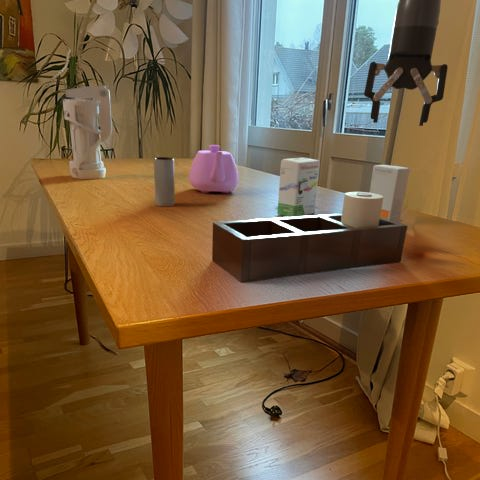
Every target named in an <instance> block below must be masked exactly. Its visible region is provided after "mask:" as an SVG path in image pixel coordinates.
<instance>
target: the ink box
mask: <svg viewBox="0 0 480 480" xmlns="http://www.w3.org/2000/svg"><path fill="white" fill-rule="evenodd" d="M320 166H321V160H319V159H314V158H309V157H292V158H283V159H282V160H280V172H279V185H278V200H277V210H276V211H277V212H276V213H277V215H278V216H283V217H297V216H309V215H313V214H315V212H316V204H317V203H316V202H317V194H318V184H319V177H320Z"/></svg>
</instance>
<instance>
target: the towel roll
mask: <svg viewBox="0 0 480 480" xmlns="http://www.w3.org/2000/svg"><path fill="white" fill-rule="evenodd" d="M382 202H383V196H382V195H379V194H375V193H370V192H367V191H348V192H345V193H344V196H343V202H342V211H341V214H342V217H341V223H344V224H347V225H349V226H352V227H355V228H361V227H372V226H379V221H380V215H381V208H382Z"/></svg>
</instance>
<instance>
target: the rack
mask: <svg viewBox="0 0 480 480" xmlns="http://www.w3.org/2000/svg"><path fill="white" fill-rule="evenodd" d="M341 217H342V213H329V214H314V215H313V214H311V215H304V216H297V217H288V216H283V217H282V216H281V217H271V218H269V217H268V218H254V219H253V218H252V219H241V220H239V219H238V220H227V221H226V220H225V221H213V222H212V247H211V248H212V249H211V250H212V252H211V261H212V262H214V264H216V265H218V267H220V268H222V270H224V271H225V272H226V273H228V274H229V275H230V276H232V277H234V279H236V280H237V281H239V282H240V283H247V282H255V281H263V280H271V279H278V278H286V277H287V278H288V277H294V276H301V275H309V274H318V273H326V272H335V271H341V270H349V269H358V268H365V267H373V266H380V265H381V266H382V265H389V264H396V263H401V261H402V257H403V252H404V251H403V250H404V247H405V241H406V236H407V230H408V225H406V224H404V223H401V222H400V223H398V222H394V221H391V220H388V219H385V218H382V217H380V221H379V226H372V227H361V228H355V227H352V226H349V225H347V224H344V223H341Z"/></svg>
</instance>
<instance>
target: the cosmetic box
mask: <svg viewBox="0 0 480 480" xmlns="http://www.w3.org/2000/svg"><path fill="white" fill-rule="evenodd" d="M410 171H411V169H410V167H405V166H399V165H390V164H375V165H373V168H372V173H371V180H370V186H369V193H375V194H379V195H382V196H383V202H382V208H381V215H380V217H382V218H385V219H388V220H391V221H394V222H398V223H401V217H402V213H403V207H404V201H405V195H406V190H407V186H408V180H409V175H410Z"/></svg>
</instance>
